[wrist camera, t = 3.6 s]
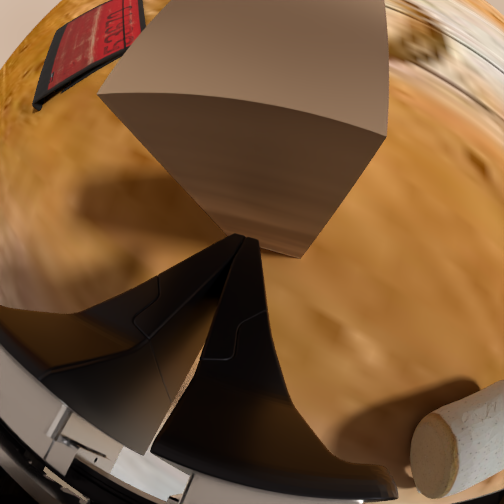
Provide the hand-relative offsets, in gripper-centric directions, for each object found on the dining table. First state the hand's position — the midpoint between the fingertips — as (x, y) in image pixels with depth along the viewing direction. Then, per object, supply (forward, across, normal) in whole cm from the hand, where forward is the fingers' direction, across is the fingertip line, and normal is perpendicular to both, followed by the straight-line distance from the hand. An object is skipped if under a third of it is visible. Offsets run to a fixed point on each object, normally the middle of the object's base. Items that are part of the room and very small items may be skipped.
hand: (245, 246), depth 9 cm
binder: (+22, +30, -10) cm, 39 cm away
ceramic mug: (-1, -19, +12) cm, 23 cm away
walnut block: (+8, 0, +3) cm, 9 cm away
